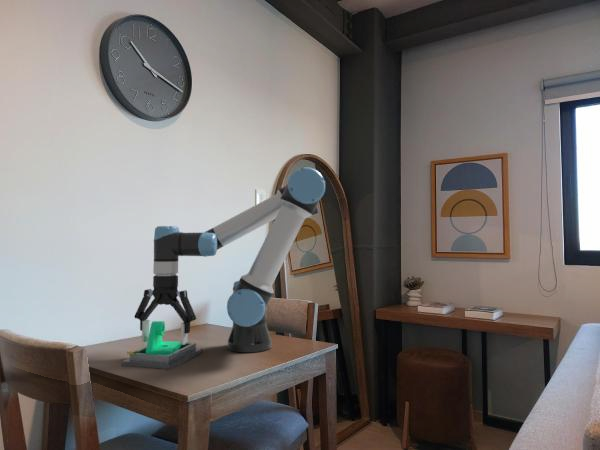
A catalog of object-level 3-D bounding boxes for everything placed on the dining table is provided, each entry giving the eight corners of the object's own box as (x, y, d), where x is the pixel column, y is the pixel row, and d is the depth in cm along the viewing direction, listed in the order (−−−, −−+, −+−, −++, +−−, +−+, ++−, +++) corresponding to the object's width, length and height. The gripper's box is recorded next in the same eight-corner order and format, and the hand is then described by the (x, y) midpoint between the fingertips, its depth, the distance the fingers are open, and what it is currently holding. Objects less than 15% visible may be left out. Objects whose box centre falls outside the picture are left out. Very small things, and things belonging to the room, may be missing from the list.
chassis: (202, 352, 142) (202, 340, 142) (170, 369, 123) (170, 355, 123) (159, 348, 146) (159, 337, 146) (121, 365, 127) (122, 352, 127)
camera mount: (171, 359, 129) (172, 325, 129) (145, 359, 128) (146, 325, 129) (181, 349, 141) (181, 318, 141) (157, 349, 140) (158, 318, 141)
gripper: (207, 274, 136) (206, 342, 135) (138, 273, 142) (136, 337, 141) (196, 276, 129) (195, 347, 128) (123, 274, 135) (122, 342, 134)
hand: (164, 342), depth 135 cm, fingers open, 13 cm apart
